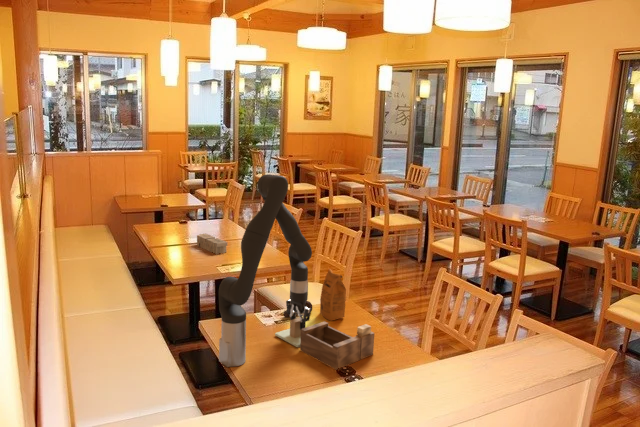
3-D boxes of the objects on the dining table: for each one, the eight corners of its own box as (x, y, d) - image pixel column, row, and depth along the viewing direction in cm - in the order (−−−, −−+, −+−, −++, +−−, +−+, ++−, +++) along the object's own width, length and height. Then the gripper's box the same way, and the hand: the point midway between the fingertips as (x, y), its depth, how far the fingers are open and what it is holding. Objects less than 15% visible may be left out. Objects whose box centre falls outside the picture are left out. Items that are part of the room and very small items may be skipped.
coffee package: (335, 310, 265) (337, 266, 261) (347, 319, 254) (349, 274, 250) (316, 312, 261) (318, 268, 257) (328, 322, 250) (330, 276, 246)
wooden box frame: (336, 369, 206) (337, 347, 204) (300, 350, 221) (300, 329, 219) (373, 354, 220) (374, 333, 218) (337, 336, 235) (338, 316, 233)
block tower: (196, 246, 373) (217, 255, 351) (195, 234, 371) (216, 242, 349) (206, 245, 378) (227, 253, 356) (206, 233, 376) (227, 240, 354)
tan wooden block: (362, 336, 214) (362, 329, 213) (356, 334, 216) (357, 327, 215) (370, 333, 217) (371, 326, 217) (365, 330, 219) (365, 324, 219)
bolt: (283, 321, 254) (308, 313, 264) (289, 319, 250) (314, 311, 260) (279, 309, 255) (304, 301, 265) (285, 307, 251) (310, 299, 261)
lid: (297, 349, 223) (297, 329, 221) (275, 337, 233) (275, 317, 231) (319, 341, 231) (320, 321, 229) (297, 329, 242) (298, 311, 240)
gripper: (317, 292, 225) (315, 330, 228) (294, 283, 235) (293, 319, 239) (303, 296, 220) (301, 335, 223) (281, 286, 230) (280, 324, 234)
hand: (297, 327), depth 231 cm, fingers open, 5 cm apart
